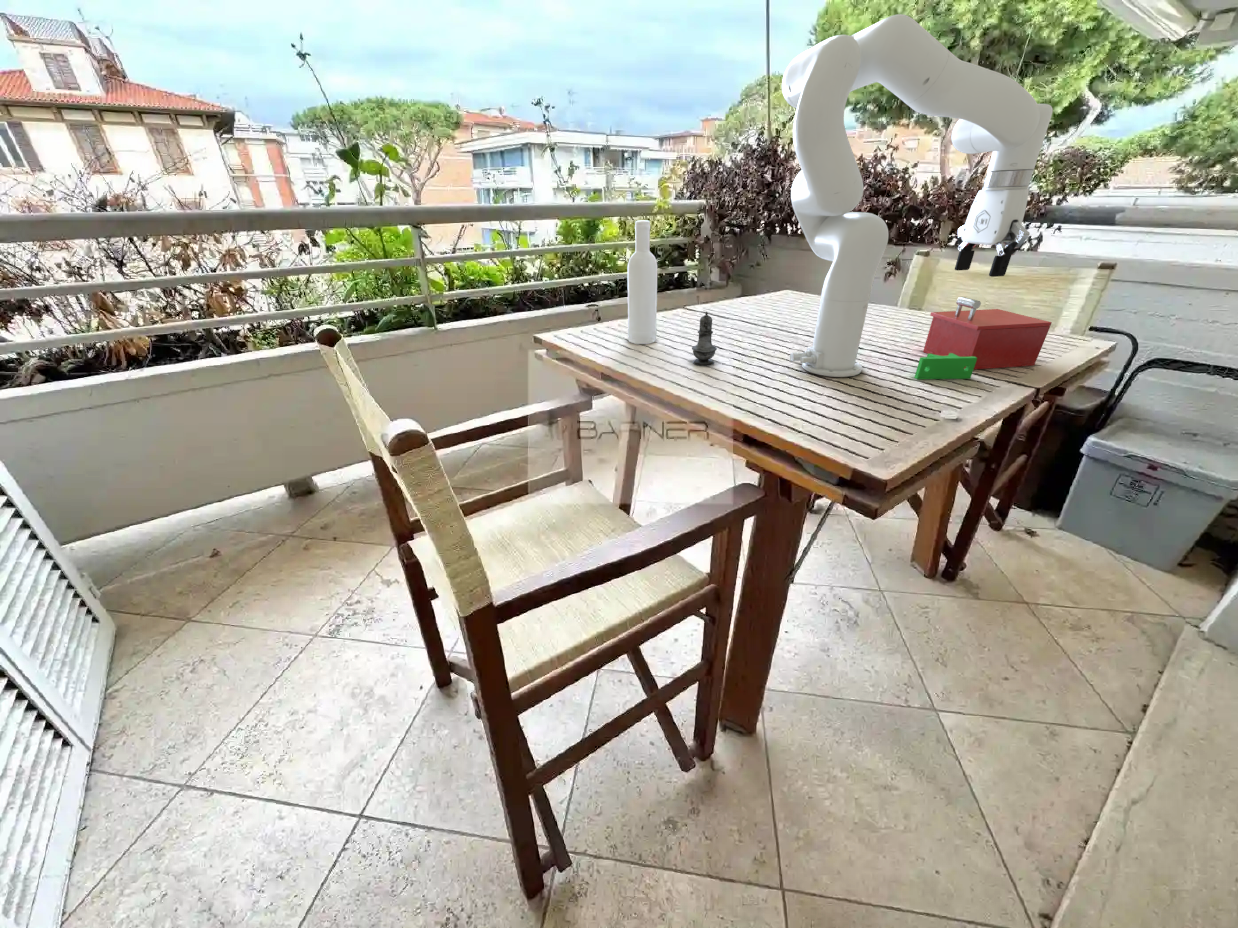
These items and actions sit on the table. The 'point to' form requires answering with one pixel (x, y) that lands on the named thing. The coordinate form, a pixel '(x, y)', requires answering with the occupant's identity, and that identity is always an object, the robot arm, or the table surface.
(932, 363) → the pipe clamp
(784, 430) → the table surface
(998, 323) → the red box lid
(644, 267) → the bottle
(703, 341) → the salt shaker
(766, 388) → the table surface
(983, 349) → the red hinged box
